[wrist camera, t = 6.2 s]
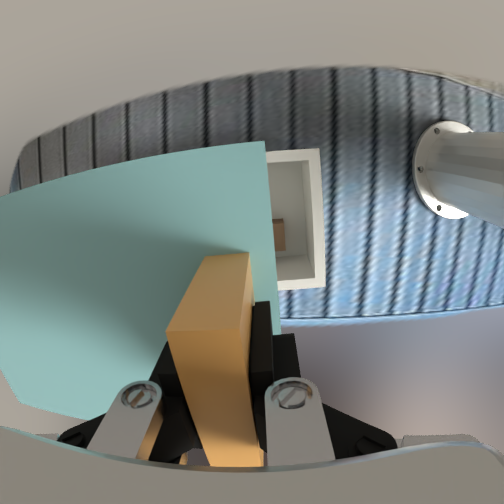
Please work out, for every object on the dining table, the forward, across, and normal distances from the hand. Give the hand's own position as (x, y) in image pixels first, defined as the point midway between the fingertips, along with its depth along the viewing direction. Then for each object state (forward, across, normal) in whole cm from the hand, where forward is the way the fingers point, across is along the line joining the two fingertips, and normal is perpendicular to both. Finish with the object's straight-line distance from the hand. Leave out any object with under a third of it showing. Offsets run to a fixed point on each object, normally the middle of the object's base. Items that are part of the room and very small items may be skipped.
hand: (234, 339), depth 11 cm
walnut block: (+25, -2, +2) cm, 25 cm away
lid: (+4, +8, 0) cm, 8 cm away
